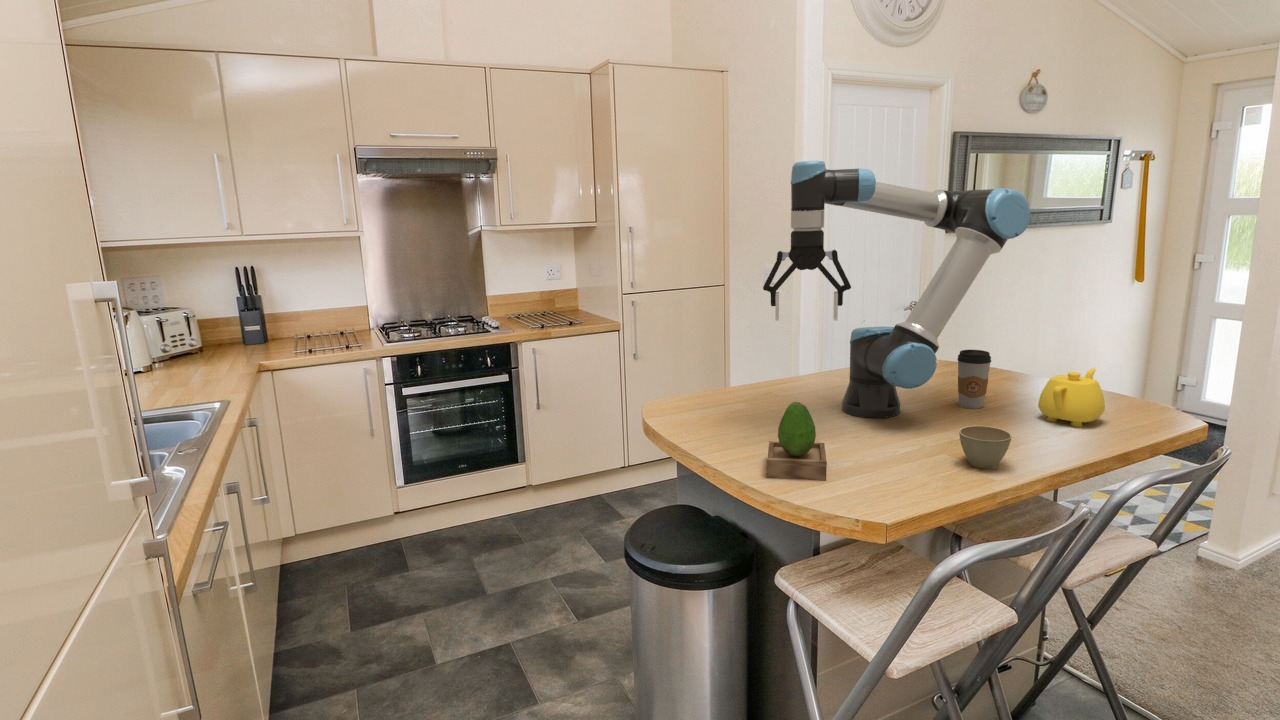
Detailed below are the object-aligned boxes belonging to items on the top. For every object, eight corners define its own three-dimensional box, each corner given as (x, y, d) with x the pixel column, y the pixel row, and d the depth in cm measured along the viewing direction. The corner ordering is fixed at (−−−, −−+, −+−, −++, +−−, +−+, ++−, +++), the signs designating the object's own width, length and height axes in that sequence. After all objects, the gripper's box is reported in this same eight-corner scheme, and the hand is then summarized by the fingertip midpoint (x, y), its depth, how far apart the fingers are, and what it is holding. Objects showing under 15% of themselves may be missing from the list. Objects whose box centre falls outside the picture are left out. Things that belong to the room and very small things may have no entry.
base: (823, 459, 155) (824, 442, 155) (826, 480, 144) (826, 462, 143) (769, 457, 158) (769, 440, 157) (767, 477, 146) (767, 459, 146)
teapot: (1117, 418, 177) (1123, 370, 174) (1081, 434, 165) (1086, 384, 163) (1061, 407, 187) (1066, 362, 185) (1023, 421, 176) (1027, 374, 174)
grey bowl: (948, 458, 154) (950, 427, 152) (991, 455, 155) (993, 424, 153) (973, 474, 144) (975, 441, 142) (1019, 471, 145) (1022, 438, 143)
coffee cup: (954, 408, 189) (958, 354, 186) (953, 400, 197) (957, 348, 194) (989, 411, 186) (993, 356, 183) (986, 402, 194) (990, 349, 190)
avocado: (792, 464, 145) (792, 408, 143) (770, 452, 152) (771, 400, 150) (823, 457, 148) (824, 403, 146) (800, 446, 155) (801, 394, 153)
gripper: (861, 227, 164) (858, 316, 168) (754, 230, 169) (754, 317, 174) (864, 228, 156) (861, 322, 161) (752, 231, 162) (752, 322, 166)
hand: (806, 319), depth 167 cm, fingers open, 13 cm apart
